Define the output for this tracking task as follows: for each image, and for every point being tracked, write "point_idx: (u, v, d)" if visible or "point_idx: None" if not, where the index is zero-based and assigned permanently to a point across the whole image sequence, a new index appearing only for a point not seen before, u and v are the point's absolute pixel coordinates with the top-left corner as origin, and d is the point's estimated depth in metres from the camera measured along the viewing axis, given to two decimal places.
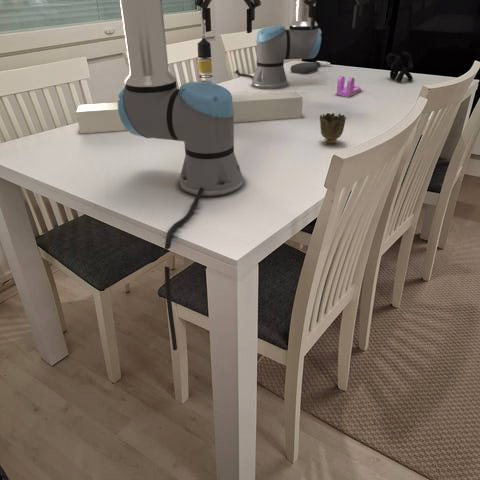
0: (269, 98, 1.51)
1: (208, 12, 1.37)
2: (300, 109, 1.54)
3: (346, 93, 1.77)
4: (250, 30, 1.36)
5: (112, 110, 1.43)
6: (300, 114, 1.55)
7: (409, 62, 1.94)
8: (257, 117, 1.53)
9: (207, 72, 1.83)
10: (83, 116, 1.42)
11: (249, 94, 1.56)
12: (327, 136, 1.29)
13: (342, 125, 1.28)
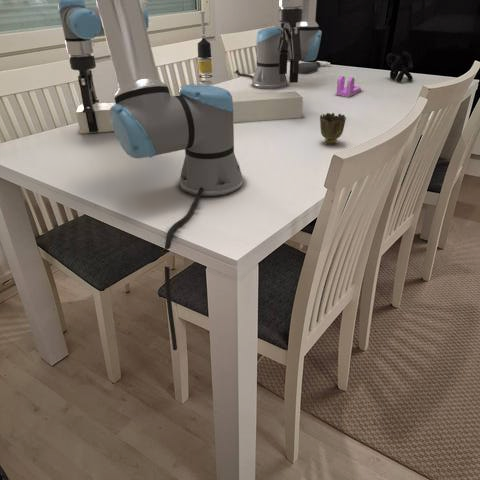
0: (269, 98, 1.51)
1: None
2: (300, 109, 1.54)
3: (346, 93, 1.77)
4: (93, 130, 1.44)
5: None
6: (300, 114, 1.55)
7: (409, 62, 1.94)
8: (257, 117, 1.53)
9: (207, 72, 1.83)
10: (83, 116, 1.42)
11: (249, 94, 1.56)
12: (327, 136, 1.29)
13: (342, 125, 1.28)
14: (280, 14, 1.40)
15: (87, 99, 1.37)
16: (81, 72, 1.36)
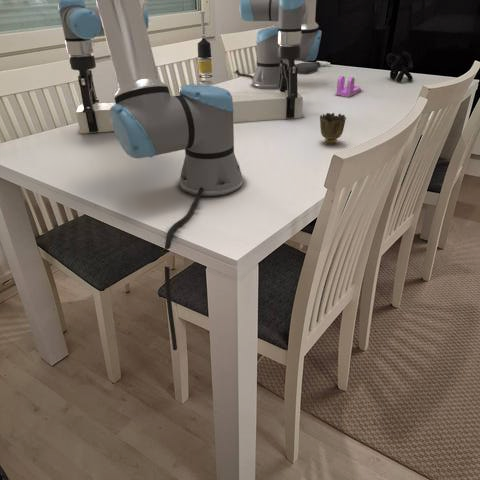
0: (269, 98, 1.51)
1: None
2: (300, 109, 1.54)
3: (346, 93, 1.77)
4: (93, 130, 1.44)
5: None
6: (300, 114, 1.55)
7: (409, 62, 1.94)
8: (257, 117, 1.53)
9: (207, 72, 1.83)
10: (83, 116, 1.42)
11: (249, 94, 1.56)
12: (327, 136, 1.29)
13: (342, 125, 1.28)
14: (279, 51, 1.46)
15: (87, 99, 1.37)
16: (81, 72, 1.36)
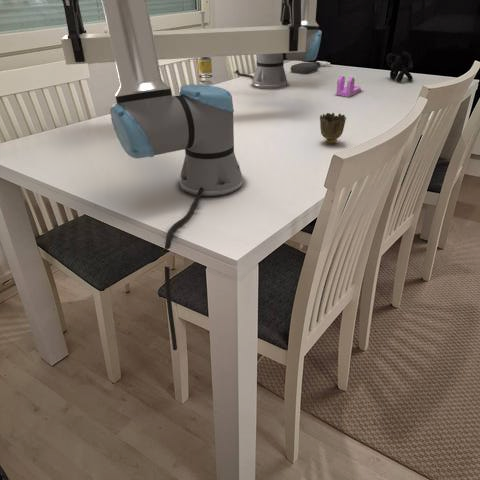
0: (270, 29, 1.40)
1: None
2: (304, 42, 1.43)
3: (346, 93, 1.77)
4: (79, 59, 1.33)
5: (100, 38, 1.31)
6: (304, 48, 1.44)
7: (409, 62, 1.94)
8: (258, 50, 1.41)
9: (207, 72, 1.83)
10: (68, 44, 1.31)
11: (249, 27, 1.45)
12: (327, 136, 1.29)
13: (342, 125, 1.28)
14: None
15: (72, 21, 1.25)
16: None
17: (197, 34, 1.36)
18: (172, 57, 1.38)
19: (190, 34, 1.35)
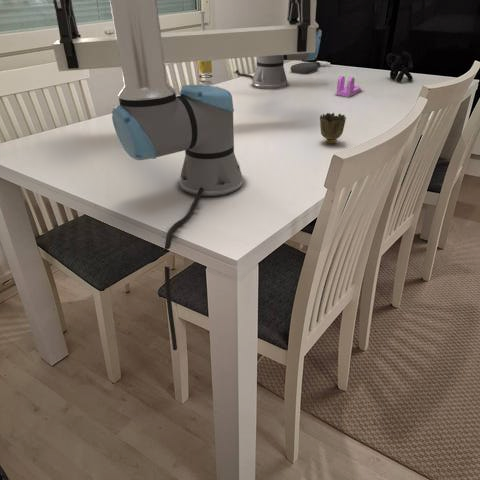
0: (277, 28, 1.30)
1: None
2: (313, 42, 1.33)
3: (346, 93, 1.77)
4: (72, 66, 1.24)
5: (95, 42, 1.22)
6: (313, 48, 1.34)
7: (409, 62, 1.94)
8: (264, 52, 1.32)
9: (207, 72, 1.83)
10: (60, 49, 1.22)
11: (254, 27, 1.35)
12: (327, 136, 1.29)
13: (342, 125, 1.28)
14: None
15: (64, 25, 1.16)
16: None
17: (198, 36, 1.26)
18: (172, 61, 1.28)
19: (191, 36, 1.26)
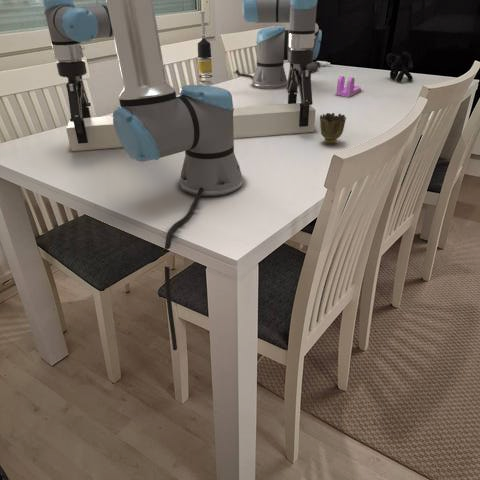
0: (279, 111, 1.38)
1: (83, 111, 1.36)
2: (312, 123, 1.40)
3: (346, 93, 1.77)
4: (82, 141, 1.28)
5: (106, 125, 1.29)
6: (312, 128, 1.41)
7: (409, 62, 1.94)
8: (266, 132, 1.39)
9: (207, 72, 1.83)
10: (73, 132, 1.28)
11: (256, 106, 1.43)
12: (327, 136, 1.29)
13: (342, 125, 1.28)
14: (290, 55, 1.31)
15: (75, 106, 1.21)
16: (70, 79, 1.22)
17: None
18: None
19: None
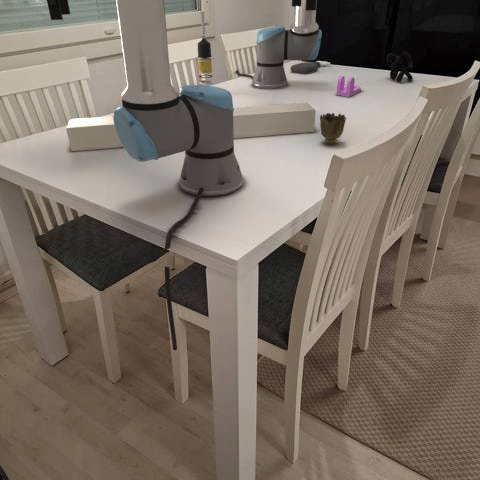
0: (279, 111, 1.38)
1: None
2: (312, 123, 1.40)
3: (346, 93, 1.77)
4: (56, 17, 1.11)
5: (106, 125, 1.29)
6: (312, 128, 1.41)
7: (409, 62, 1.94)
8: (266, 132, 1.39)
9: (207, 72, 1.83)
10: (73, 132, 1.28)
11: (256, 106, 1.43)
12: (327, 136, 1.29)
13: (342, 125, 1.28)
14: None
15: None
16: None
17: None
18: None
19: None
